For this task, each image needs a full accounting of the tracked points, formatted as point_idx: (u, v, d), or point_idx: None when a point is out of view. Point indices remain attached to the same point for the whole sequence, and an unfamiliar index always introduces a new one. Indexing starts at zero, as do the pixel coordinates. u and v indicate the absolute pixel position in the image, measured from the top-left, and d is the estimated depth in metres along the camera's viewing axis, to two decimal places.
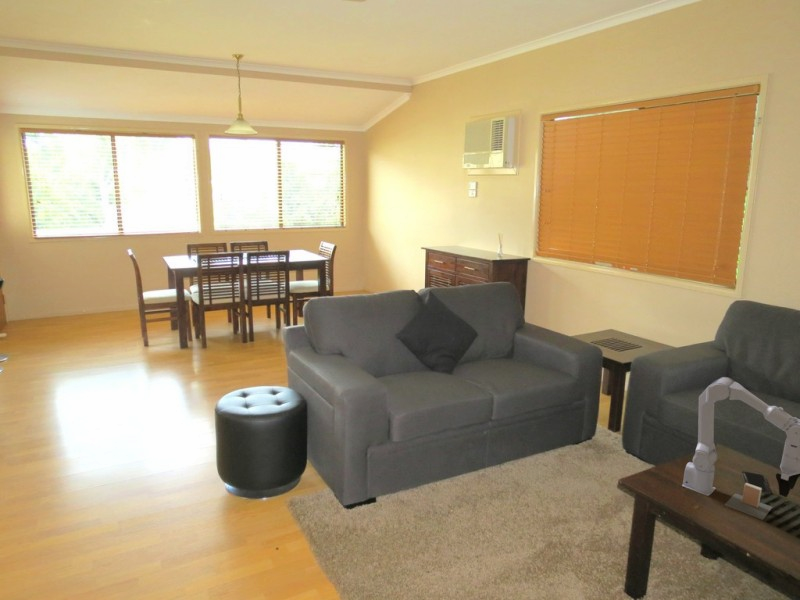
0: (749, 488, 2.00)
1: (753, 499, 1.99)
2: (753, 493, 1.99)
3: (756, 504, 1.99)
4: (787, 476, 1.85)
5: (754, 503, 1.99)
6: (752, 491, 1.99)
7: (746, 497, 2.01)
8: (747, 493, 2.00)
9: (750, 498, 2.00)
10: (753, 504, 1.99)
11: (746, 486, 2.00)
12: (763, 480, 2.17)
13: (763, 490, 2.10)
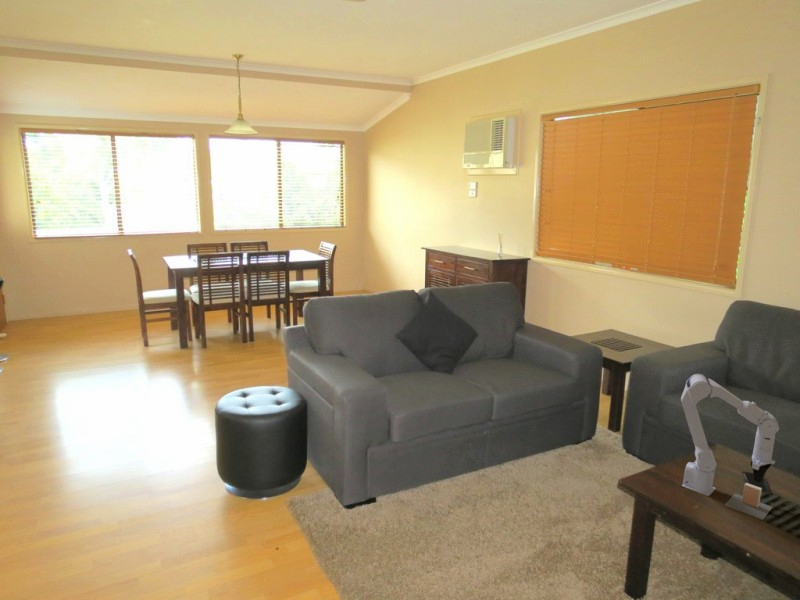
0: (749, 488, 2.00)
1: (753, 499, 1.99)
2: (753, 493, 1.99)
3: (756, 504, 1.99)
4: (757, 466, 1.96)
5: (754, 503, 1.99)
6: (752, 491, 1.99)
7: (746, 497, 2.01)
8: (747, 493, 2.00)
9: (750, 498, 2.00)
10: (753, 504, 1.99)
11: (746, 486, 2.00)
12: (763, 480, 2.17)
13: (763, 490, 2.10)
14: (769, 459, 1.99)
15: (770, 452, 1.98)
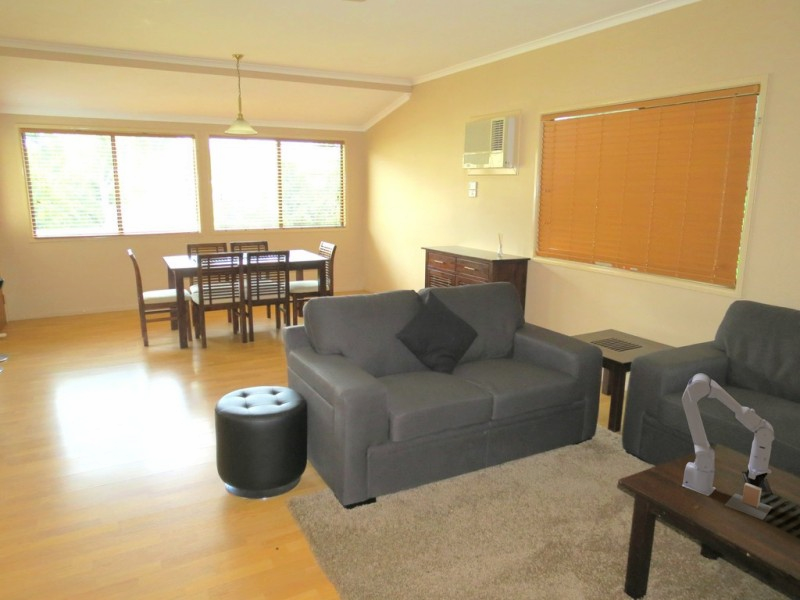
0: (749, 488, 2.00)
1: (753, 499, 1.99)
2: (753, 493, 1.99)
3: (756, 504, 1.99)
4: (754, 476, 1.95)
5: (754, 503, 1.99)
6: (752, 491, 1.99)
7: (746, 497, 2.01)
8: (747, 493, 2.00)
9: (750, 498, 2.00)
10: (753, 504, 1.99)
11: (746, 486, 2.00)
12: (763, 480, 2.17)
13: (763, 490, 2.10)
14: (765, 468, 1.97)
15: (766, 461, 1.97)
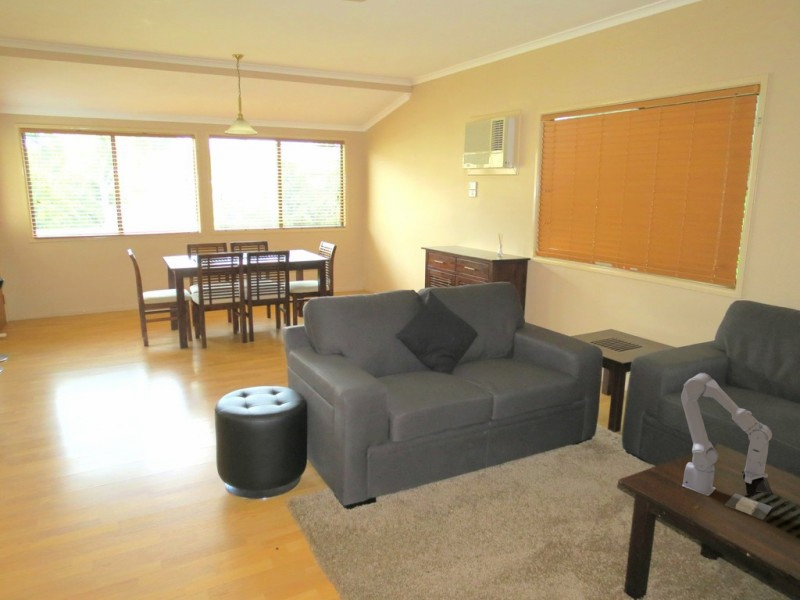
0: None
1: None
2: None
3: None
4: (750, 480, 1.92)
5: None
6: None
7: None
8: None
9: None
10: None
11: None
12: (763, 480, 2.17)
13: (763, 490, 2.10)
14: (762, 472, 1.94)
15: (763, 465, 1.94)
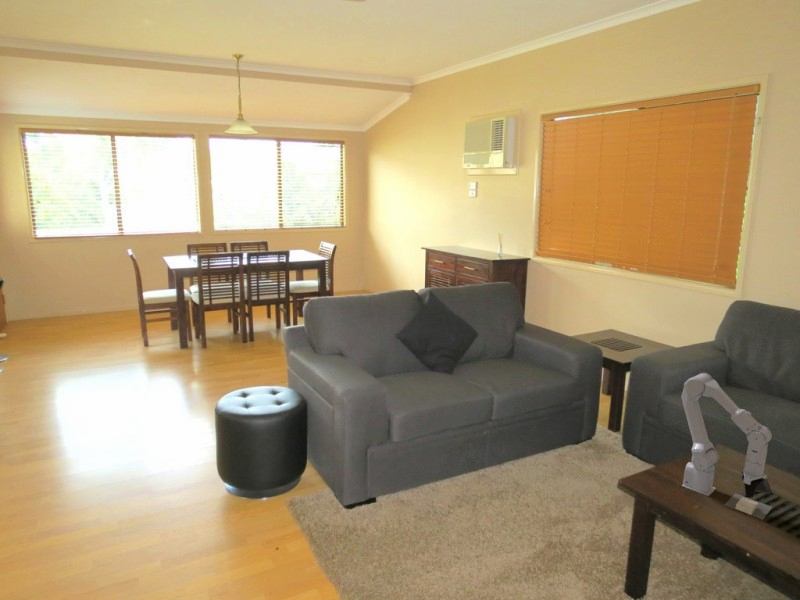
0: None
1: None
2: None
3: None
4: (749, 481, 1.91)
5: None
6: None
7: None
8: None
9: None
10: None
11: None
12: (763, 480, 2.17)
13: (763, 490, 2.10)
14: (761, 473, 1.94)
15: (762, 466, 1.93)
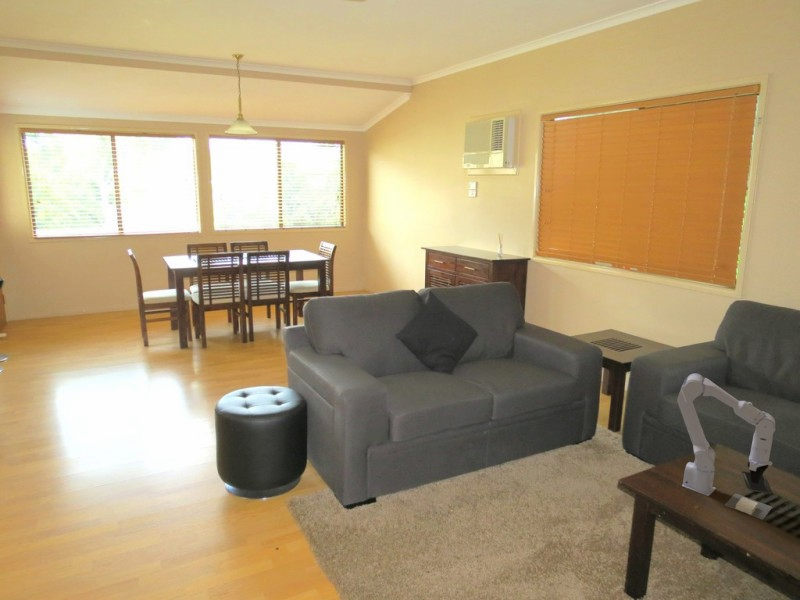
0: None
1: None
2: None
3: None
4: (754, 467, 1.94)
5: None
6: None
7: None
8: None
9: None
10: None
11: None
12: (763, 480, 2.18)
13: (763, 490, 2.10)
14: (766, 460, 1.96)
15: (768, 453, 1.96)
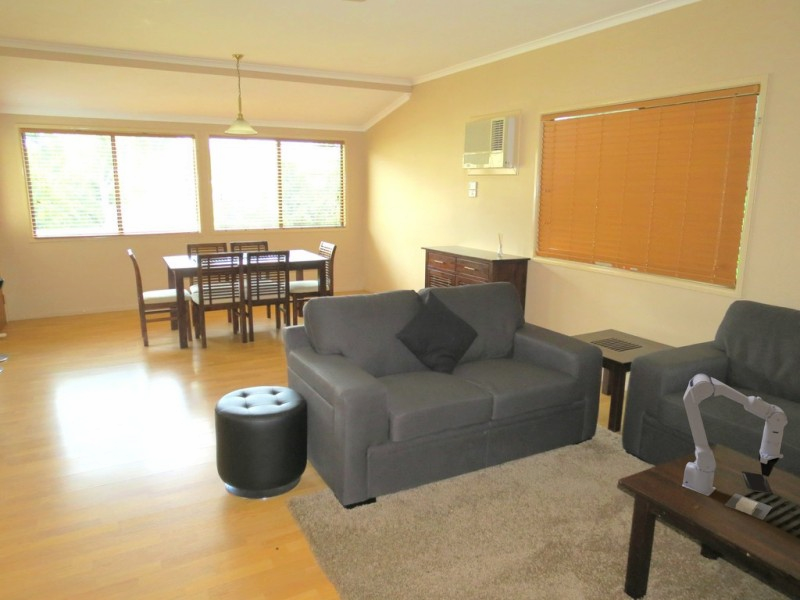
0: None
1: None
2: None
3: None
4: (765, 460, 1.95)
5: None
6: None
7: None
8: None
9: None
10: None
11: None
12: (763, 480, 2.18)
13: (763, 490, 2.10)
14: (777, 453, 1.97)
15: (778, 446, 1.96)
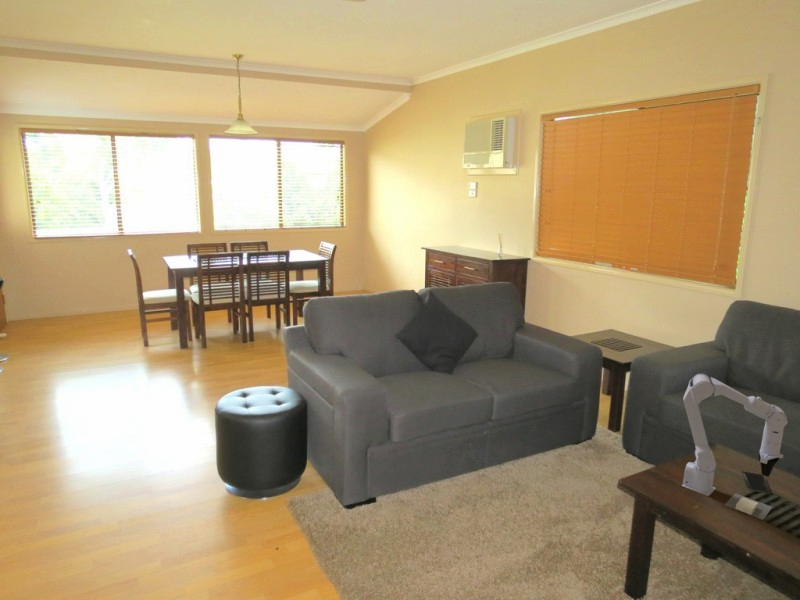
0: None
1: None
2: None
3: None
4: (765, 460, 1.95)
5: None
6: None
7: None
8: None
9: None
10: None
11: None
12: (763, 480, 2.18)
13: (763, 490, 2.10)
14: (777, 453, 1.97)
15: (778, 446, 1.96)
